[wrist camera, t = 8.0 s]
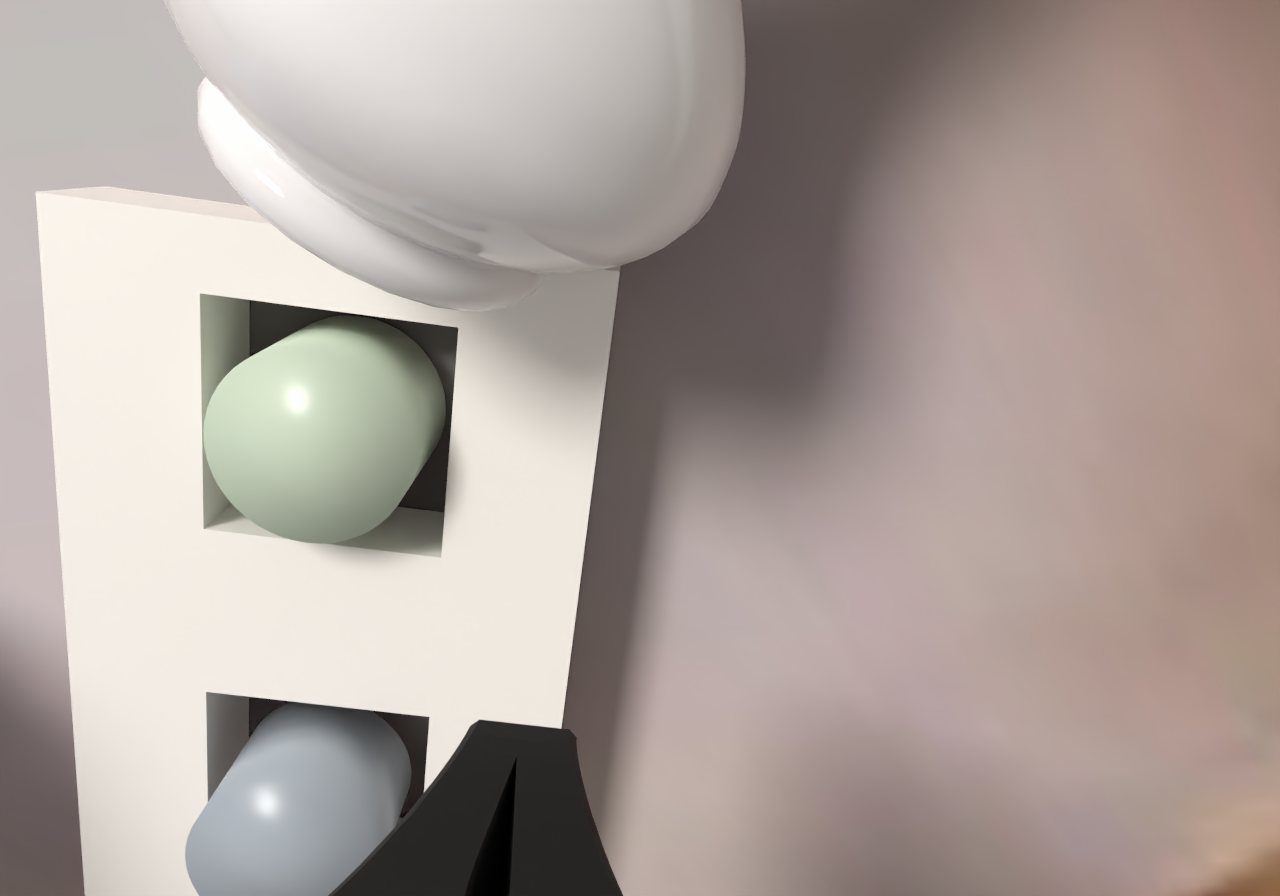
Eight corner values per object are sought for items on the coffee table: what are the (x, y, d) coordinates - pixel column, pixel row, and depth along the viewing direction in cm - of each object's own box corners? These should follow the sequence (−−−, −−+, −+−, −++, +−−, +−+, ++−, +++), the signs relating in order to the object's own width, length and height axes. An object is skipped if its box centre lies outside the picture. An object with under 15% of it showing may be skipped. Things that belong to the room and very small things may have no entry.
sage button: (266, 474, 21) (204, 530, 18) (268, 304, 20) (201, 333, 17) (440, 496, 21) (407, 554, 18) (452, 328, 20) (419, 361, 17)
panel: (147, 1076, 27) (103, 1161, 25) (106, 186, 19) (35, 192, 17) (512, 1109, 28) (501, 1195, 26) (622, 257, 20) (620, 271, 18)
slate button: (246, 825, 23) (187, 929, 20) (246, 688, 22) (183, 777, 19) (406, 842, 23) (371, 948, 20) (415, 707, 22) (380, 799, 19)
